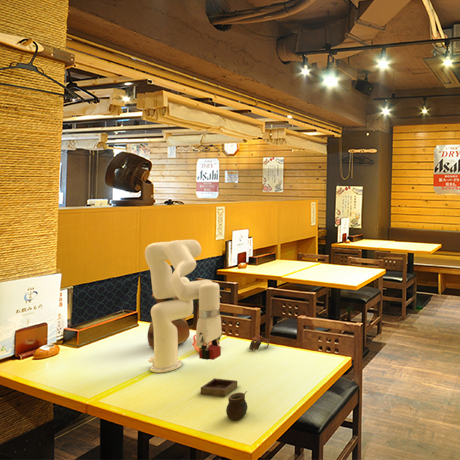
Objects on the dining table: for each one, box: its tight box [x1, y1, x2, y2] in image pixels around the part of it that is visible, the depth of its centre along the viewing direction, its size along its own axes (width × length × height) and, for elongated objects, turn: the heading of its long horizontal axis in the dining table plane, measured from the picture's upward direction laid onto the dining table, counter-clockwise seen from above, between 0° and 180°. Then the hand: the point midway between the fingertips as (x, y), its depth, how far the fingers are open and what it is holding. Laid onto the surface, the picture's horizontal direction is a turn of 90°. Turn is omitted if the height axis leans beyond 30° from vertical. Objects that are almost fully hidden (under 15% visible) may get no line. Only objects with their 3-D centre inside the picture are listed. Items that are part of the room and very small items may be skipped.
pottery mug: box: [249, 334, 270, 352], centre depth 199 cm, size 12×10×8 cm
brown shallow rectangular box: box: [200, 378, 238, 398], centre depth 153 cm, size 11×8×3 cm
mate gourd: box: [225, 390, 248, 421], centre depth 134 cm, size 7×8×10 cm
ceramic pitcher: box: [147, 293, 191, 348], centre depth 202 cm, size 20×20×30 cm
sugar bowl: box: [191, 334, 220, 353], centre depth 196 cm, size 12×14×10 cm
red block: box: [198, 345, 222, 361], centre depth 151 cm, size 6×4×4 cm
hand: (210, 356), depth 151 cm, fingers closed on red block, 4 cm apart
